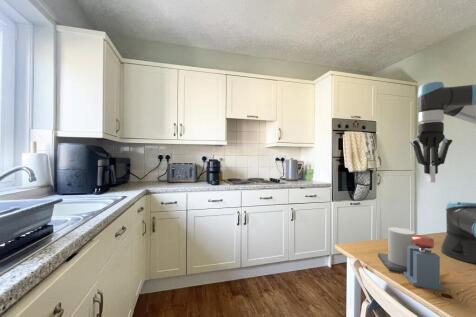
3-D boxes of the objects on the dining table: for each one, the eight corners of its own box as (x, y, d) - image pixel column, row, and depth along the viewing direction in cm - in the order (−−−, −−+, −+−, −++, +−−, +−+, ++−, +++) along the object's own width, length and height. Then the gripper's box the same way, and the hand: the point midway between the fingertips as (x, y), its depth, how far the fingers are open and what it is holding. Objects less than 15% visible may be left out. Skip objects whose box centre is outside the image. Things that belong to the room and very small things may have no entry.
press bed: (411, 260, 86) (411, 256, 86) (428, 276, 75) (428, 271, 75) (377, 256, 90) (377, 252, 90) (388, 270, 78) (388, 266, 78)
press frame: (430, 278, 73) (430, 248, 73) (443, 290, 66) (443, 256, 66) (403, 274, 76) (403, 245, 76) (413, 285, 69) (413, 253, 69)
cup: (419, 267, 77) (419, 235, 77) (394, 265, 79) (394, 233, 79) (406, 257, 85) (406, 227, 85) (384, 255, 87) (384, 226, 87)
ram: (427, 266, 73) (427, 235, 73) (437, 274, 67) (437, 241, 68) (408, 263, 75) (408, 234, 75) (416, 271, 69) (416, 239, 69)
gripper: (444, 123, 86) (444, 181, 86) (406, 125, 90) (406, 180, 89) (457, 120, 79) (458, 183, 79) (416, 122, 82) (416, 182, 82)
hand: (430, 182), depth 84 cm, fingers closed
